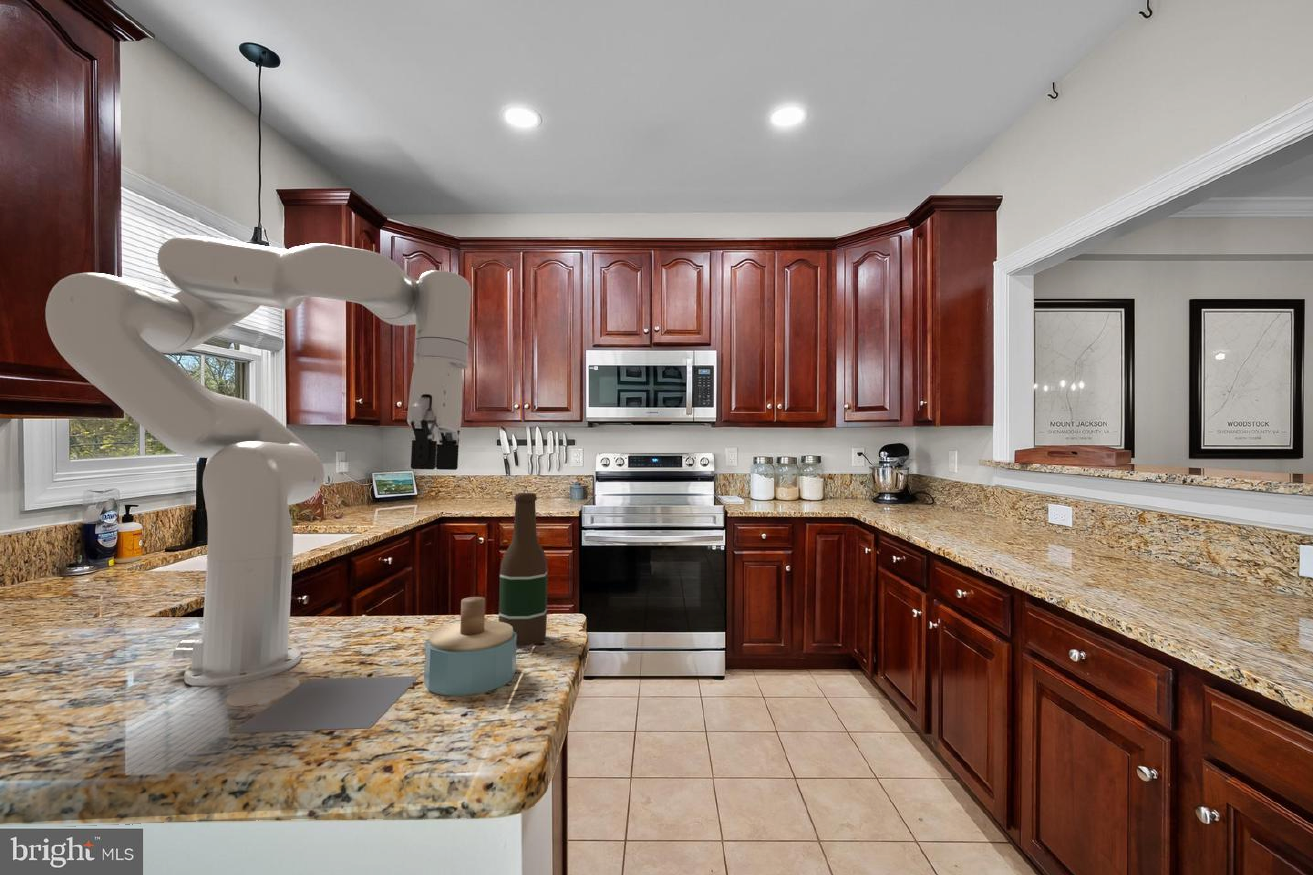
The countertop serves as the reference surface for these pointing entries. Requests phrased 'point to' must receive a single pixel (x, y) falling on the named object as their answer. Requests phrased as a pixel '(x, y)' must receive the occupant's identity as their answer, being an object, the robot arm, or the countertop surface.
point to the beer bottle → (524, 577)
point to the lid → (471, 630)
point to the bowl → (469, 669)
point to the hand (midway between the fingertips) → (435, 469)
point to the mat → (330, 705)
